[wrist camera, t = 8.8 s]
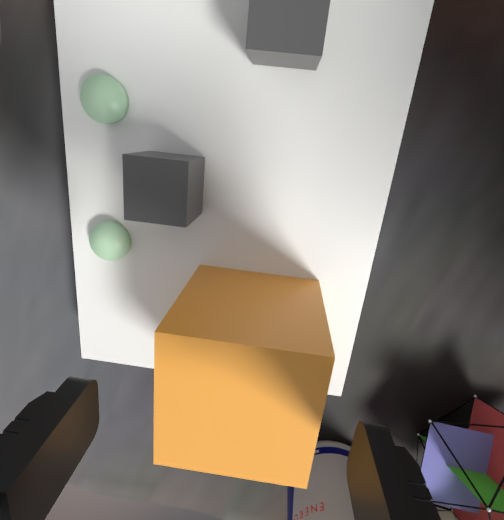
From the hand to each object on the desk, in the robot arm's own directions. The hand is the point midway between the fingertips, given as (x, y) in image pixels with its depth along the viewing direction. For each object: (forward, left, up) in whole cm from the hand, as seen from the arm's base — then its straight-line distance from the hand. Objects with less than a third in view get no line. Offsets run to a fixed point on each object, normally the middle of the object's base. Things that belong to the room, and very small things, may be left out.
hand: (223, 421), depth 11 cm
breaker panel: (+2, -5, -9) cm, 11 cm away
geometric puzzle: (-13, +7, -10) cm, 18 cm away
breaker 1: (+4, -6, -7) cm, 10 cm away
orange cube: (0, +1, -7) cm, 7 cm away
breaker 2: (0, -12, -7) cm, 14 cm away
